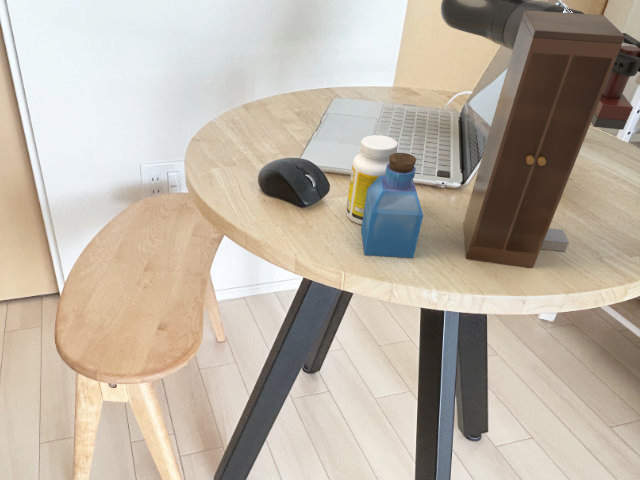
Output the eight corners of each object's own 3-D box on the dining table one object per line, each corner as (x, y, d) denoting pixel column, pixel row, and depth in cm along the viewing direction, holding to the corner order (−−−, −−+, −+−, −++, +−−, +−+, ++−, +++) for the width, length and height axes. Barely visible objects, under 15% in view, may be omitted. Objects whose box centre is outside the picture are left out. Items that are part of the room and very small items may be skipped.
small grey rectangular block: (537, 227, 76) (533, 236, 77) (542, 239, 73) (539, 249, 74) (562, 229, 75) (559, 238, 76) (569, 242, 73) (565, 251, 74)
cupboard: (463, 223, 79) (524, 10, 62) (524, 231, 78) (603, 14, 61) (466, 261, 72) (536, 31, 55) (533, 271, 70) (627, 37, 53)
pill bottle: (399, 221, 79) (414, 146, 73) (362, 231, 77) (375, 155, 70) (372, 201, 84) (384, 129, 77) (337, 211, 82) (346, 137, 75)
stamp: (581, 105, 81) (607, 38, 76) (608, 108, 81) (637, 40, 75) (593, 127, 75) (623, 56, 70) (623, 130, 75) (655, 58, 69)
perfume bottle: (361, 229, 78) (374, 146, 70) (407, 232, 77) (425, 148, 70) (364, 255, 73) (378, 168, 65) (413, 258, 72) (433, 171, 65)
